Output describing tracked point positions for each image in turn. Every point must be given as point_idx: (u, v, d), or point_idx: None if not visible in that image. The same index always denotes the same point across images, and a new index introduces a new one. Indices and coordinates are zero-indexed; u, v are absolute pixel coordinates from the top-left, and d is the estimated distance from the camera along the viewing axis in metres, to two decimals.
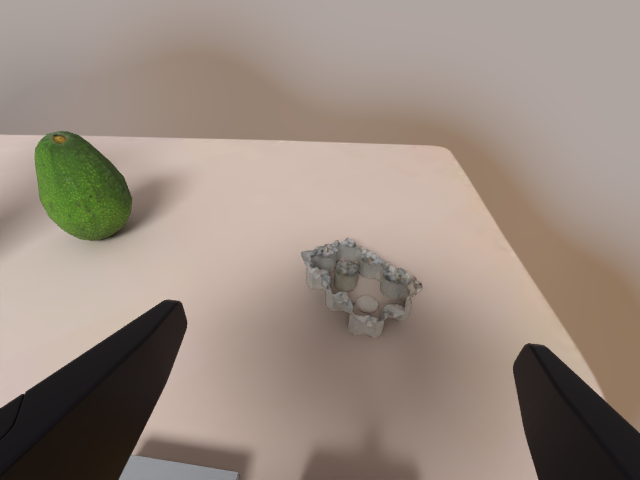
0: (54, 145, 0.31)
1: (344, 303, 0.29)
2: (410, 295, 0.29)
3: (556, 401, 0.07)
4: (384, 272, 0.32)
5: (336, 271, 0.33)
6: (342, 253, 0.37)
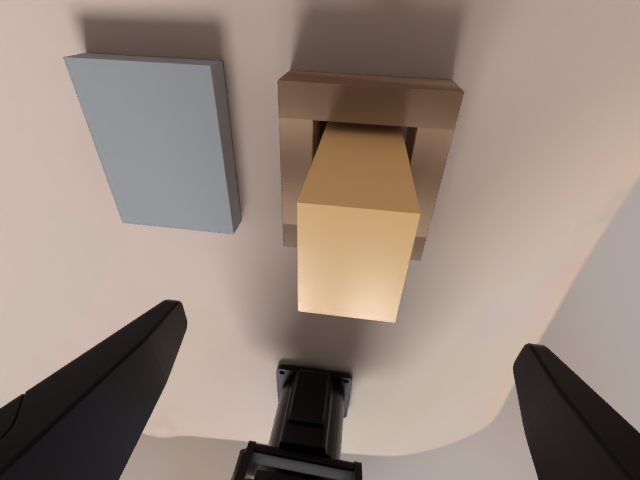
0: None
1: None
2: None
3: (556, 401, 0.07)
4: None
5: None
6: None
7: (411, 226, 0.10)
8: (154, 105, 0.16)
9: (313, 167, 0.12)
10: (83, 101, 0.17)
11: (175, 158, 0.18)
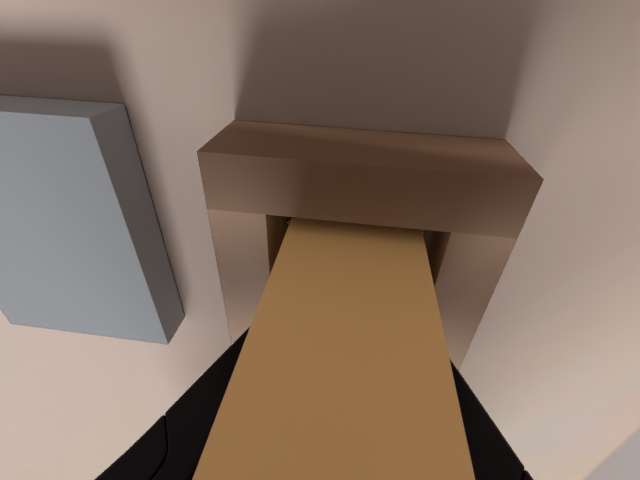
0: None
1: None
2: None
3: None
4: None
5: None
6: None
7: None
8: (13, 176, 0.10)
9: (242, 365, 0.06)
10: None
11: (64, 249, 0.12)
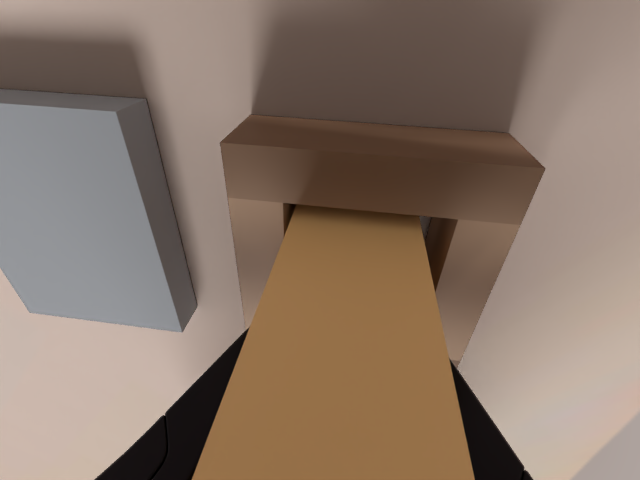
0: None
1: None
2: None
3: None
4: None
5: None
6: None
7: None
8: (40, 167, 0.11)
9: (242, 364, 0.06)
10: None
11: (85, 239, 0.12)
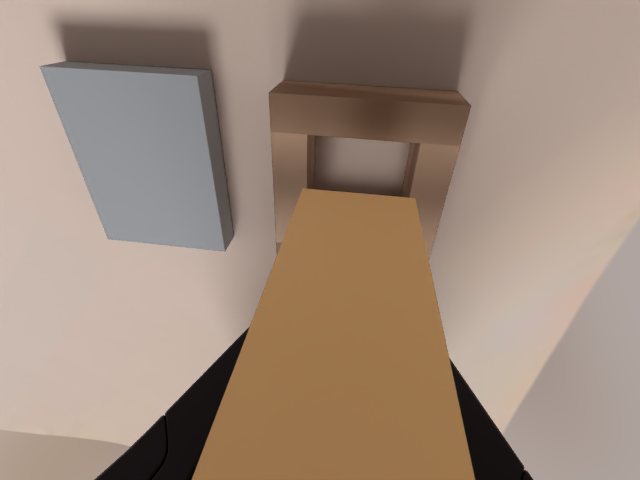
0: None
1: None
2: None
3: None
4: None
5: None
6: None
7: None
8: (138, 117, 0.15)
9: (243, 364, 0.06)
10: (62, 113, 0.16)
11: (161, 173, 0.17)
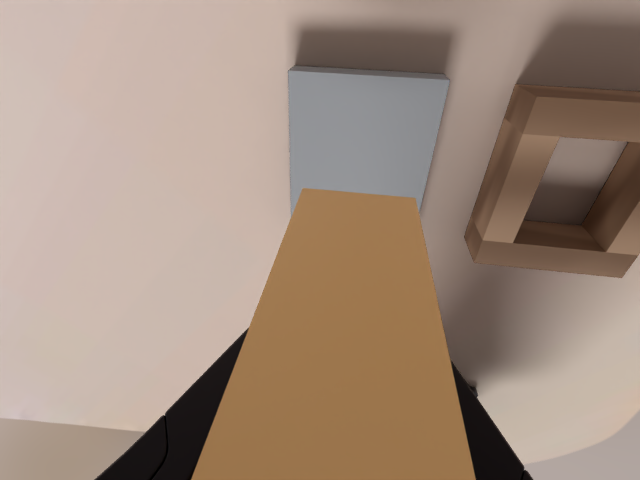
0: None
1: None
2: None
3: None
4: None
5: None
6: None
7: None
8: (371, 120, 0.16)
9: (242, 364, 0.06)
10: (293, 115, 0.16)
11: (374, 173, 0.17)
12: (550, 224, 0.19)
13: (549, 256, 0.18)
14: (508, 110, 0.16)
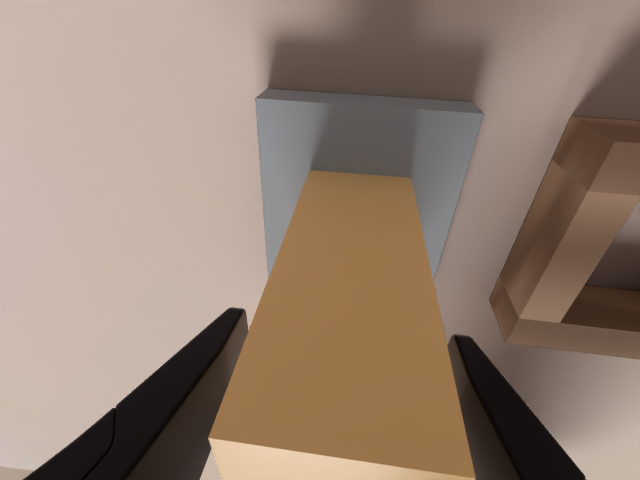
0: None
1: None
2: None
3: (468, 389, 0.07)
4: None
5: None
6: None
7: None
8: (372, 164, 0.12)
9: (266, 301, 0.07)
10: (266, 157, 0.12)
11: None
12: (602, 290, 0.15)
13: (607, 339, 0.13)
14: (559, 151, 0.12)
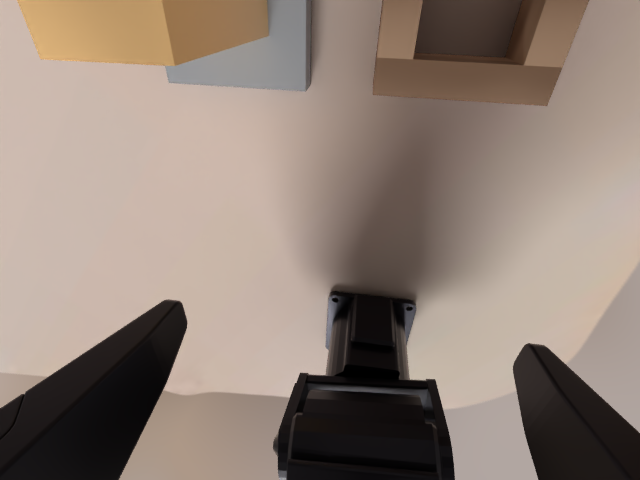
0: None
1: None
2: None
3: (556, 401, 0.07)
4: None
5: None
6: None
7: None
8: None
9: None
10: None
11: None
12: (468, 56, 0.16)
13: (458, 77, 0.15)
14: None
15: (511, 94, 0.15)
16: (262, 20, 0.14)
